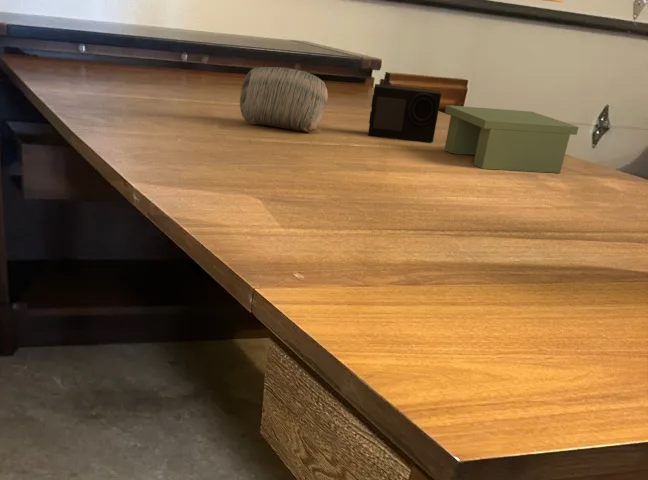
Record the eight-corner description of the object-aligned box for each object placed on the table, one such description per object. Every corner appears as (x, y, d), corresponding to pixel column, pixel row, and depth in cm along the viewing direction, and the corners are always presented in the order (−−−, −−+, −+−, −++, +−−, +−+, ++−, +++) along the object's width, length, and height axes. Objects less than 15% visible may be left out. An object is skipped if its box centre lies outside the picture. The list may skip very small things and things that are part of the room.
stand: (522, 154, 127) (532, 111, 123) (566, 173, 115) (579, 126, 112) (438, 149, 123) (446, 105, 120) (475, 168, 112) (485, 120, 109)
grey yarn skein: (220, 99, 123) (252, 35, 121) (242, 125, 132) (272, 66, 130) (294, 137, 120) (328, 72, 118) (311, 161, 129) (343, 101, 127)
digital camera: (367, 136, 128) (373, 86, 124) (367, 131, 133) (374, 82, 129) (433, 144, 128) (442, 93, 124) (431, 138, 132) (440, 90, 128)
